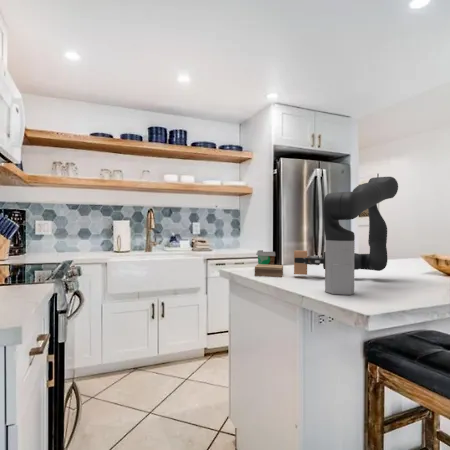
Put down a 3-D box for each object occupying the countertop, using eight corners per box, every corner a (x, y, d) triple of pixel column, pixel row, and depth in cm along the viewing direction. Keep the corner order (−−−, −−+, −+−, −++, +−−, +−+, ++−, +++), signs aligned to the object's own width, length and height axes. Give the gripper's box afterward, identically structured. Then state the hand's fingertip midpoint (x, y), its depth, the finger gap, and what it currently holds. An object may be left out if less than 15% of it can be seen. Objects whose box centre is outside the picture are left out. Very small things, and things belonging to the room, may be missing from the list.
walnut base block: (282, 277, 145) (282, 267, 145) (254, 276, 147) (254, 267, 147) (283, 273, 156) (283, 265, 156) (257, 272, 159) (257, 264, 159)
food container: (251, 269, 170) (251, 250, 170) (262, 269, 172) (262, 250, 172) (264, 272, 158) (264, 252, 159) (275, 272, 161) (275, 251, 161)
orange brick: (307, 274, 141) (307, 251, 142) (294, 274, 143) (294, 250, 143) (306, 273, 147) (306, 250, 147) (294, 272, 148) (294, 250, 148)
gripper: (333, 251, 149) (294, 250, 153) (337, 253, 135) (294, 251, 138) (332, 267, 149) (294, 266, 152) (336, 271, 135) (294, 269, 138)
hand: (294, 259), depth 145 cm, fingers closed on orange brick, 5 cm apart
